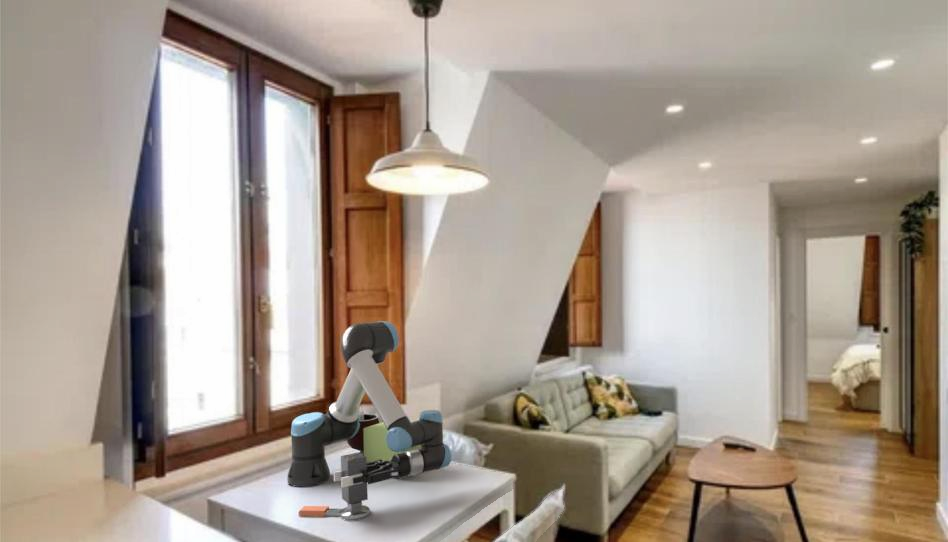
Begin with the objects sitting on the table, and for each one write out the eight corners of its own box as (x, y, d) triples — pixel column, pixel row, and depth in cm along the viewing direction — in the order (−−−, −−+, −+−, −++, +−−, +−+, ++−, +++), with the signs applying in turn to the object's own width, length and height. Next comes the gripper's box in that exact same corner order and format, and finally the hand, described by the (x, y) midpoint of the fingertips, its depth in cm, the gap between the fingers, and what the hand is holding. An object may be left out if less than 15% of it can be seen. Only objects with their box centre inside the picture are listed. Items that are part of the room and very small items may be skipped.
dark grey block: (348, 504, 164) (347, 460, 165) (342, 498, 169) (340, 456, 170) (367, 499, 167) (366, 456, 168) (360, 493, 172) (359, 452, 173)
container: (364, 473, 206) (363, 420, 207) (393, 461, 220) (391, 411, 221) (402, 482, 196) (401, 425, 197) (430, 468, 209) (429, 416, 210)
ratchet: (373, 509, 172) (373, 496, 172) (364, 521, 163) (364, 507, 163) (306, 508, 175) (306, 495, 175) (294, 520, 166) (293, 506, 166)
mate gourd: (382, 462, 220) (381, 412, 221) (347, 466, 216) (346, 415, 217) (378, 451, 235) (376, 404, 235) (345, 455, 231) (343, 407, 231)
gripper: (420, 483, 170) (349, 501, 158) (394, 468, 186) (328, 483, 173) (419, 459, 171) (348, 475, 158) (393, 446, 186) (327, 459, 174)
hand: (337, 479), depth 166 cm, fingers closed on dark grey block, 6 cm apart
